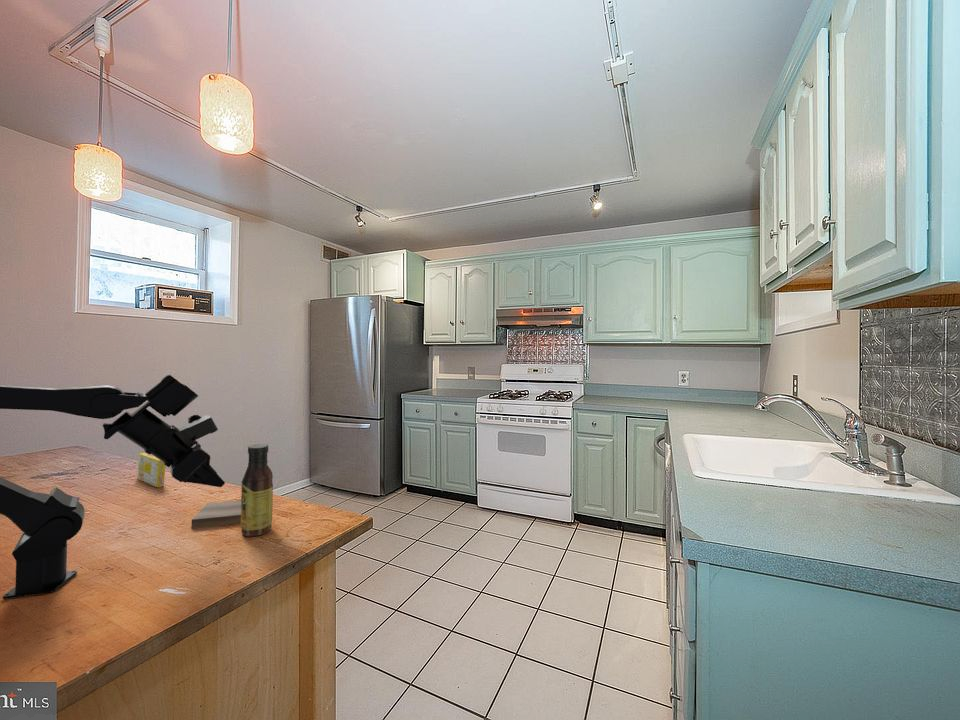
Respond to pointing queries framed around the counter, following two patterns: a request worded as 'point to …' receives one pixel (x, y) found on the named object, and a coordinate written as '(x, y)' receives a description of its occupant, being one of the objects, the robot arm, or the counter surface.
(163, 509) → the counter surface
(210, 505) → the trivet
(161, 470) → the candy box
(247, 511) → the sauce bottle
